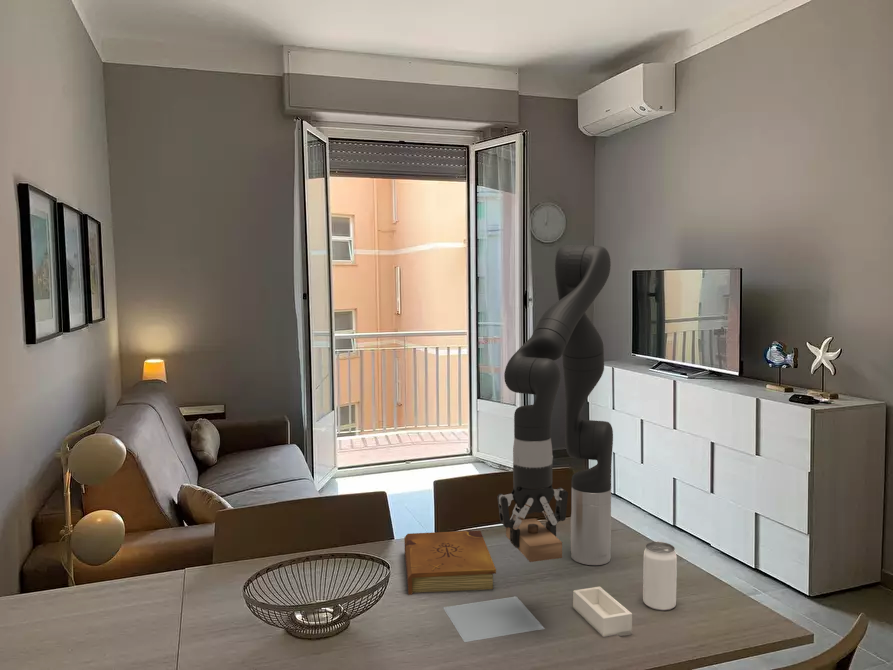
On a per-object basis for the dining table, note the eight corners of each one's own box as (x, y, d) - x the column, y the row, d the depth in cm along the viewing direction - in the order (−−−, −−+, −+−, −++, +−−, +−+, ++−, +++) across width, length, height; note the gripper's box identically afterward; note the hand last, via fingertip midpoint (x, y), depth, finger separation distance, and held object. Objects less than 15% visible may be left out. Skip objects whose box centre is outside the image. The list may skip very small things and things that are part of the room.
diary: (404, 556, 166) (404, 533, 165) (480, 553, 168) (480, 530, 167) (408, 599, 143) (408, 572, 143) (496, 594, 145) (496, 568, 144)
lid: (506, 536, 138) (505, 515, 137) (535, 532, 139) (535, 512, 139) (530, 562, 125) (529, 540, 125) (562, 557, 127) (562, 536, 126)
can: (677, 612, 135) (679, 554, 134) (644, 609, 136) (645, 551, 136) (673, 597, 142) (674, 541, 141) (641, 595, 143) (642, 539, 142)
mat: (442, 609, 137) (442, 607, 137) (516, 598, 142) (516, 596, 142) (464, 644, 124) (464, 642, 124) (544, 631, 128) (544, 628, 128)
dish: (573, 609, 137) (573, 590, 136) (599, 605, 138) (599, 586, 138) (603, 639, 125) (603, 618, 125) (631, 634, 127) (632, 613, 127)
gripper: (559, 452, 136) (559, 533, 137) (491, 458, 132) (491, 541, 134) (575, 462, 129) (575, 547, 130) (503, 469, 125) (504, 556, 127)
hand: (533, 544), depth 132 cm, fingers closed on lid, 6 cm apart
